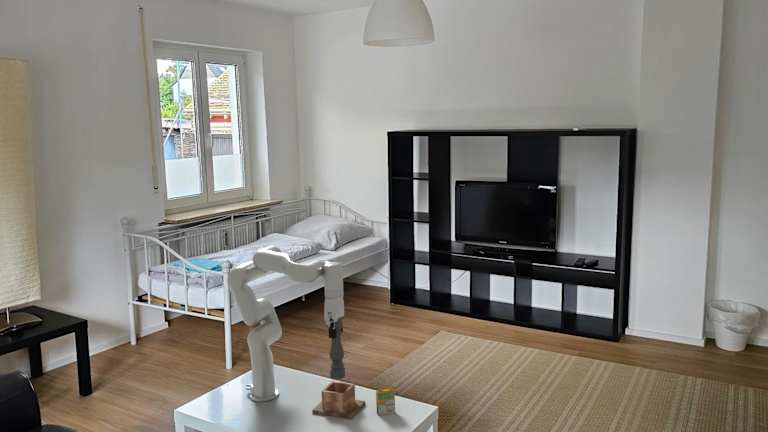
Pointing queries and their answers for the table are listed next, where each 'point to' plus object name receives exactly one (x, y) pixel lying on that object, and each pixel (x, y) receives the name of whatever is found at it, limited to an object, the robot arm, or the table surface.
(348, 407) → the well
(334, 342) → the candle holder
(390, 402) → the crayon box
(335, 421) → the table surface
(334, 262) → the robot arm
